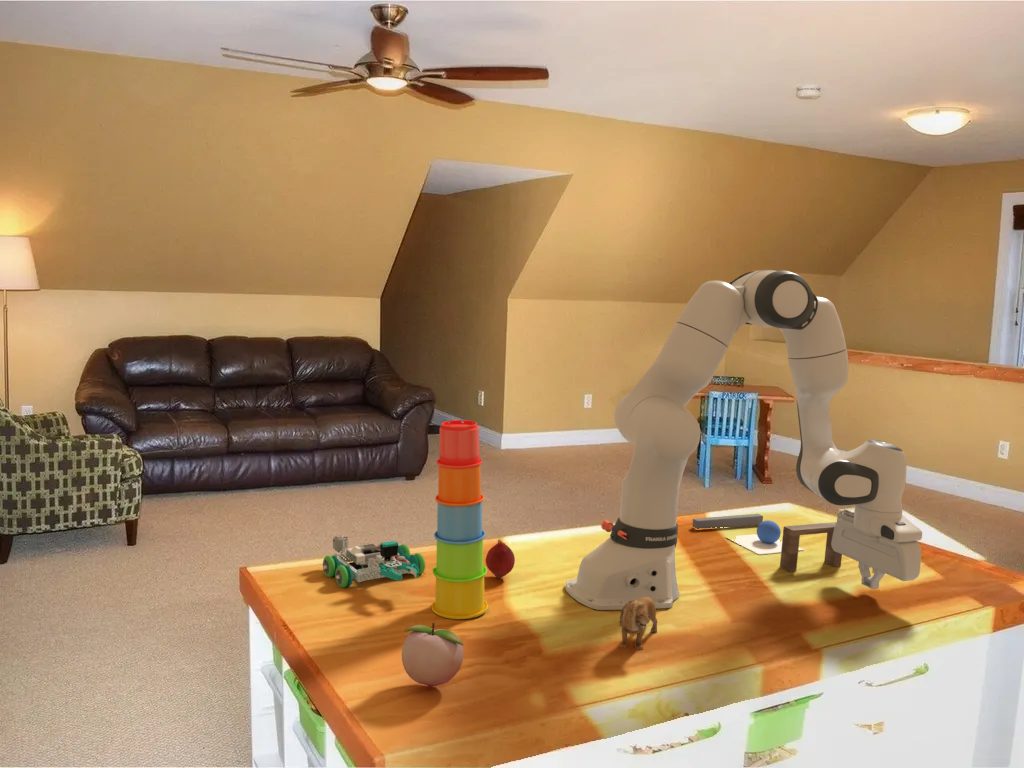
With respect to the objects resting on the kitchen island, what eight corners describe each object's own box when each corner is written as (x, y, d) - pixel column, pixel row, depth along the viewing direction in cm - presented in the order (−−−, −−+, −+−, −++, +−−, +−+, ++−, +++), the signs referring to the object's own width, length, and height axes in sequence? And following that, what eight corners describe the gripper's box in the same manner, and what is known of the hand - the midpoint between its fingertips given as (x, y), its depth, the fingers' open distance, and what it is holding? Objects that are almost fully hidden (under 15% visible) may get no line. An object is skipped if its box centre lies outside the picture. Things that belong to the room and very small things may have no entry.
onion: (515, 574, 177) (517, 536, 176) (512, 584, 172) (514, 545, 171) (486, 571, 178) (488, 534, 177) (483, 581, 172) (485, 542, 171)
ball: (767, 547, 204) (769, 524, 203) (751, 541, 208) (752, 518, 208) (784, 545, 206) (786, 522, 206) (768, 538, 211) (769, 516, 210)
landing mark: (759, 554, 198) (759, 554, 198) (724, 537, 210) (724, 536, 210) (804, 550, 203) (804, 549, 203) (767, 533, 215) (767, 533, 215)
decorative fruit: (391, 697, 125) (393, 631, 123) (407, 671, 133) (409, 609, 131) (454, 706, 123) (457, 639, 122) (467, 679, 131) (470, 616, 130)
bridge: (840, 565, 193) (845, 526, 192) (789, 571, 188) (793, 530, 186) (831, 561, 196) (835, 522, 195) (779, 566, 190) (783, 526, 189)
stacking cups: (474, 624, 151) (484, 430, 147) (421, 613, 155) (429, 423, 150) (496, 604, 161) (505, 421, 156) (445, 594, 164) (453, 415, 160)
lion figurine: (645, 661, 141) (649, 608, 140) (613, 655, 142) (617, 602, 141) (659, 627, 155) (663, 578, 153) (630, 622, 156) (633, 574, 155)
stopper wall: (696, 530, 214) (697, 520, 214) (692, 528, 216) (693, 518, 216) (762, 525, 222) (763, 515, 222) (757, 523, 224) (758, 513, 224)
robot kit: (367, 613, 154) (369, 563, 153) (314, 570, 175) (315, 525, 174) (457, 596, 165) (459, 548, 164) (397, 556, 185) (398, 514, 184)
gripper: (827, 507, 183) (821, 570, 184) (905, 537, 164) (897, 606, 166) (850, 506, 185) (844, 568, 187) (929, 534, 166) (921, 603, 168)
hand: (869, 586), depth 176 cm, fingers closed
